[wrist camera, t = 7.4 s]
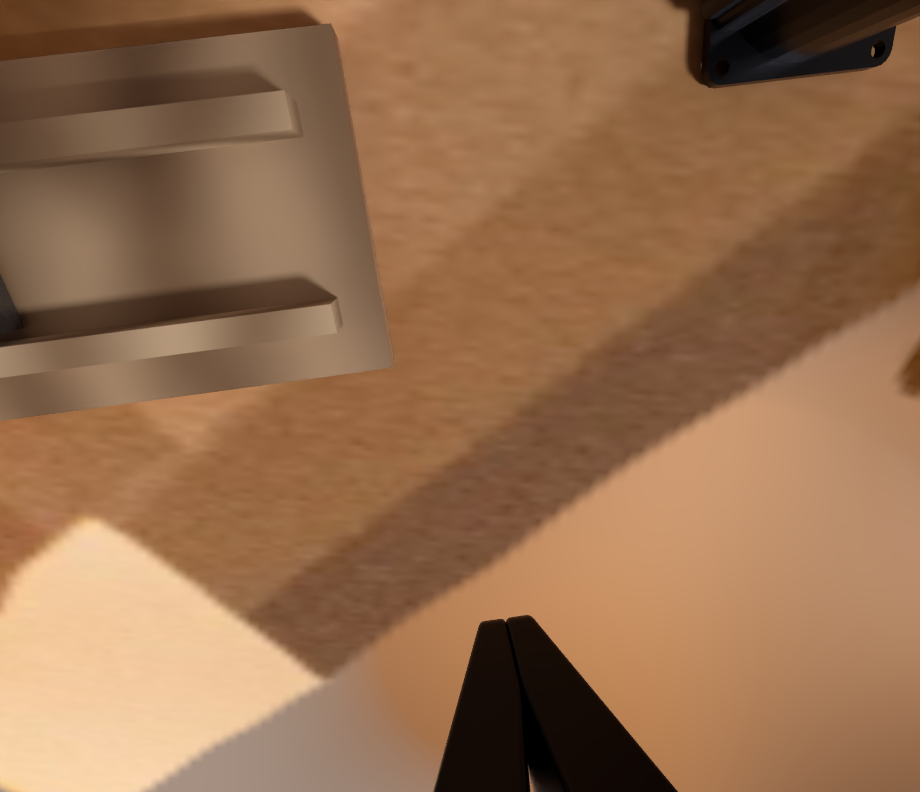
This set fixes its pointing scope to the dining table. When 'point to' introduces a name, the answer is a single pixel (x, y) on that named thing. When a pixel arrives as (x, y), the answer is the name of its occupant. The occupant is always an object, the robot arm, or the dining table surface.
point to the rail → (183, 222)
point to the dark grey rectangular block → (8, 312)
